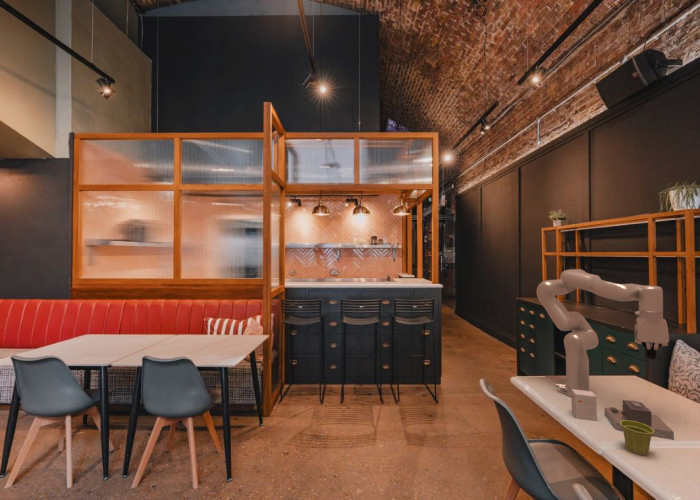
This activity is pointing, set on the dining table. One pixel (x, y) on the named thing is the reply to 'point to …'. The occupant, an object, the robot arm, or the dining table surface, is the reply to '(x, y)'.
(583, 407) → the small box
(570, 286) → the robot arm
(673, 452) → the dining table surface
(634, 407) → the plug
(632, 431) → the plant pot
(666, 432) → the socket
